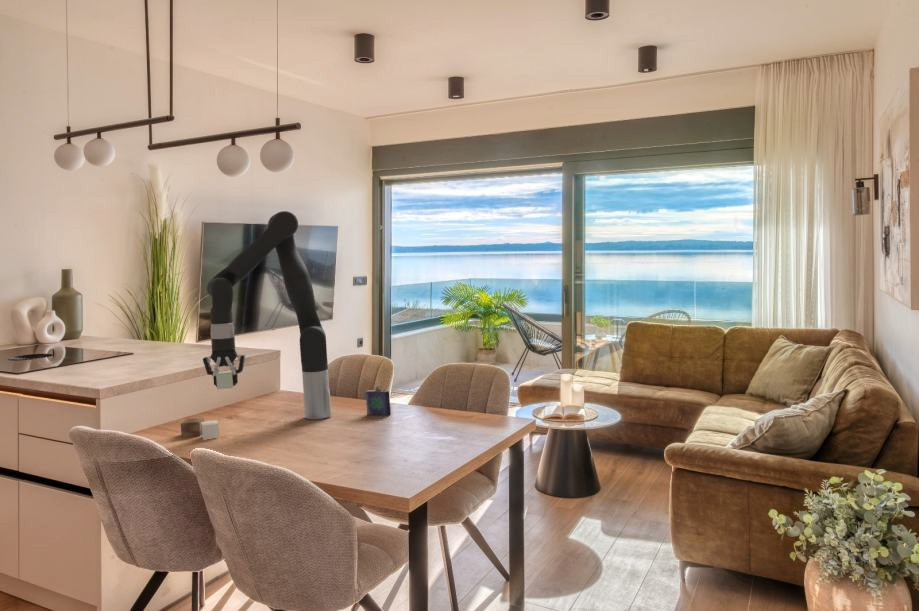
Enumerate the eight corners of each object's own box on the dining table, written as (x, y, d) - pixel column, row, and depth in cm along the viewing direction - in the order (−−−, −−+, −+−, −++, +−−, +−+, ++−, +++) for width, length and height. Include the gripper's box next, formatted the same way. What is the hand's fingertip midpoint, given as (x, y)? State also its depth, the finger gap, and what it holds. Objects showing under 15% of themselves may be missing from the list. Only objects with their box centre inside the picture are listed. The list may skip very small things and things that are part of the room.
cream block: (218, 434, 222) (217, 420, 222) (219, 438, 218) (218, 423, 217) (202, 437, 220) (201, 422, 220) (203, 440, 216) (202, 425, 215)
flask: (365, 415, 239) (364, 386, 239) (369, 413, 242) (367, 384, 241) (389, 416, 236) (387, 386, 236) (392, 414, 239) (390, 385, 238)
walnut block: (204, 432, 227) (203, 417, 227) (200, 436, 221) (199, 421, 221) (186, 433, 226) (185, 419, 226) (181, 438, 220) (180, 423, 220)
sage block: (235, 385, 228) (234, 371, 228) (232, 388, 223) (231, 373, 223) (220, 386, 227) (219, 372, 227) (217, 389, 222) (216, 374, 222)
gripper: (246, 334, 229) (249, 382, 230) (203, 336, 227) (206, 385, 228) (242, 336, 221) (245, 386, 223) (198, 338, 219) (201, 389, 220)
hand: (226, 385), depth 225 cm, fingers closed on sage block, 5 cm apart
